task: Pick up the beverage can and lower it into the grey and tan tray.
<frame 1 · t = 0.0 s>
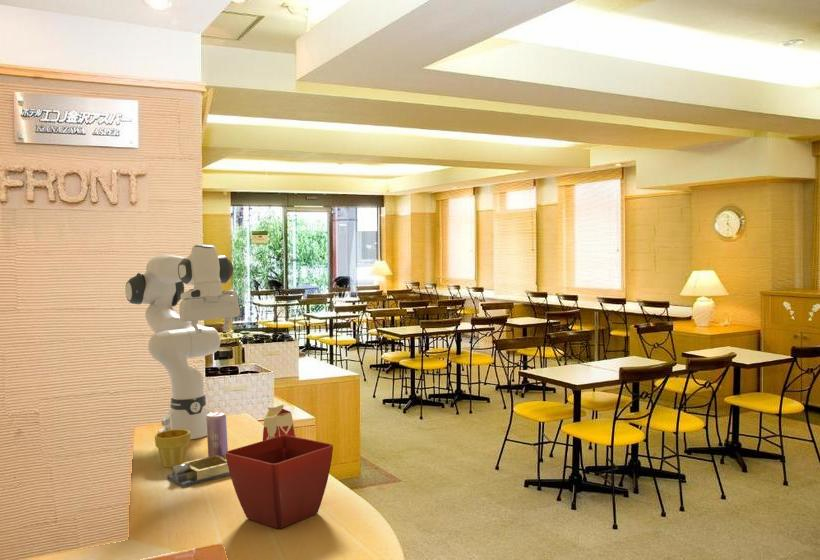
hand: (212, 332, 230), 39 cm above the table, tool pointing down, fingers open, 8 cm apart
beverage can: (218, 461, 216), on the table
grey and tan tray: (208, 474, 203), on the table
milk carton: (281, 470, 204), on the table
plant pot: (174, 464, 215), on the table
plant pot 2: (282, 516, 168), on the table
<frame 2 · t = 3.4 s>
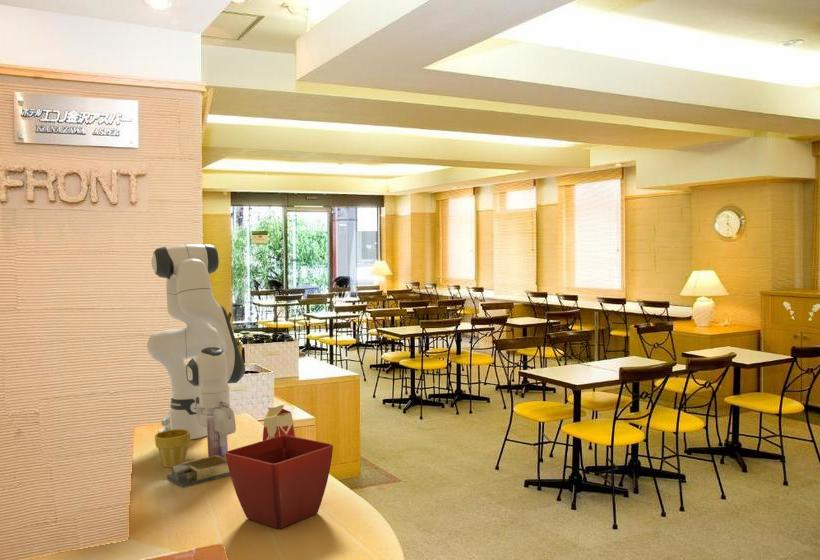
hand: (217, 443, 215), 6 cm above the table, tool pointing down, fingers closed on beverage can, 5 cm apart
beverage can: (218, 461, 216), on the table, touching gripper
everything else where it was.
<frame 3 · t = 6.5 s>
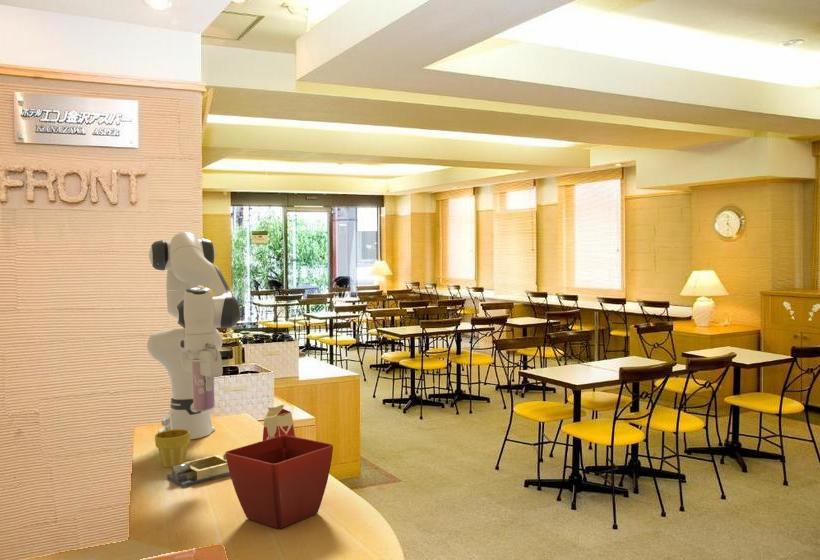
hand: (203, 389, 202), 25 cm above the table, tool pointing down, fingers closed on beverage can, 5 cm apart
beverage can: (204, 409, 202), point 19 cm above the table, touching gripper
everything else where it was.
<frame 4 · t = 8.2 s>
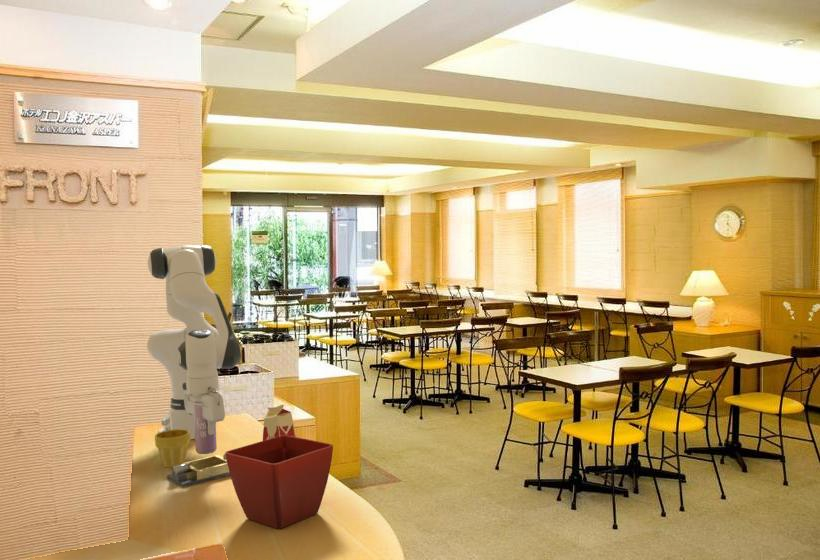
hand: (205, 432, 202), 13 cm above the table, tool pointing down, fingers closed on beverage can, 5 cm apart
beverage can: (206, 452, 203), point 7 cm above the table, touching gripper
everything else where it was.
when the fingers open (8 cm above the table, at t = 9.6 s): beverage can moves 2 cm, resting on grey and tan tray.
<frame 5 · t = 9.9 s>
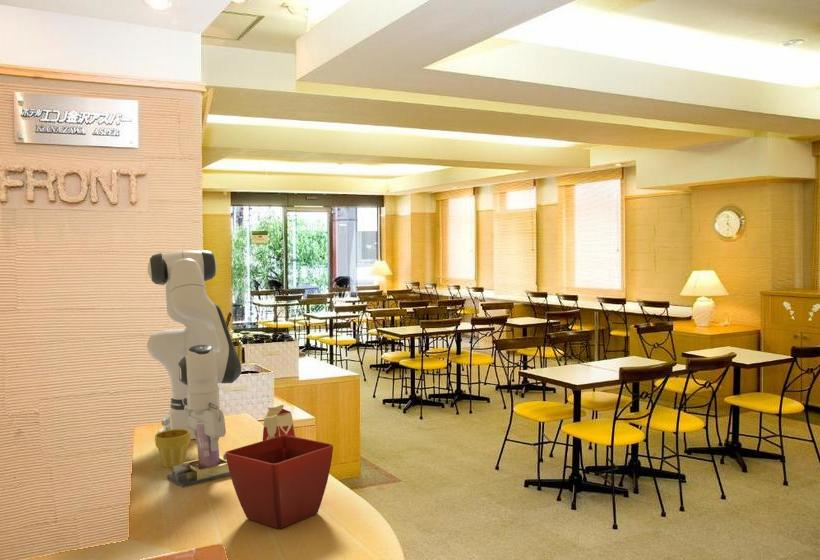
hand: (206, 447, 203), 8 cm above the table, tool pointing down, fingers open, 8 cm apart
beverage can: (210, 472, 202), point 1 cm above the table, touching gripper, grey and tan tray
everything else where it was.
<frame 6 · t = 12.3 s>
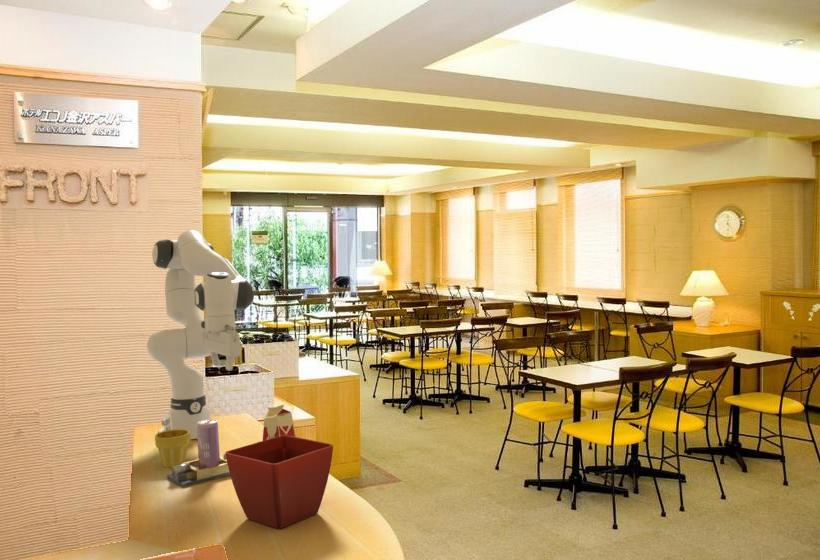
hand: (222, 367, 216), 29 cm above the table, tool pointing down, fingers open, 8 cm apart
beverage can: (210, 472, 202), point 1 cm above the table, touching grey and tan tray
everything else where it was.
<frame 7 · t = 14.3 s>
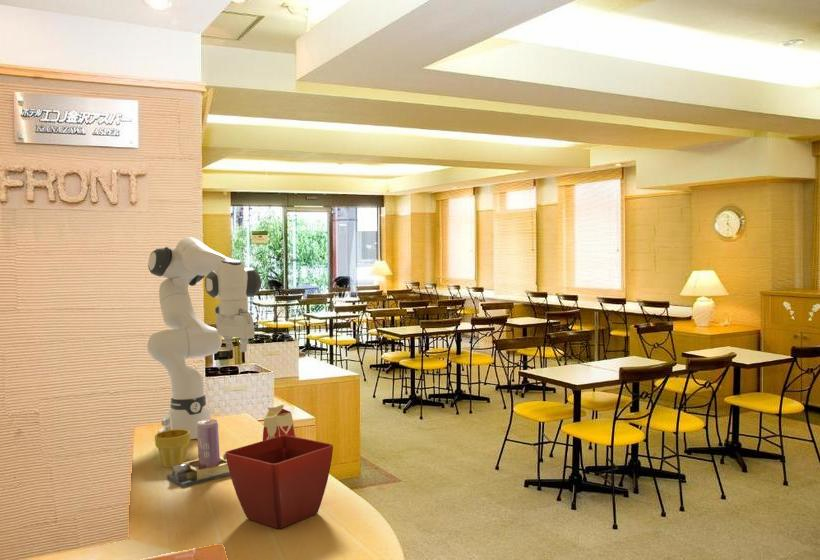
hand: (236, 350, 226), 33 cm above the table, tool pointing down, fingers open, 8 cm apart
nothing on the table moved.
at the end: beverage can inside the target area on the grey and tan tray (1.5 cm from its centre), point 0.8 cm above the grey and tan tray's base; beverage can tilted 0°; the gripper is holding nothing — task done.
